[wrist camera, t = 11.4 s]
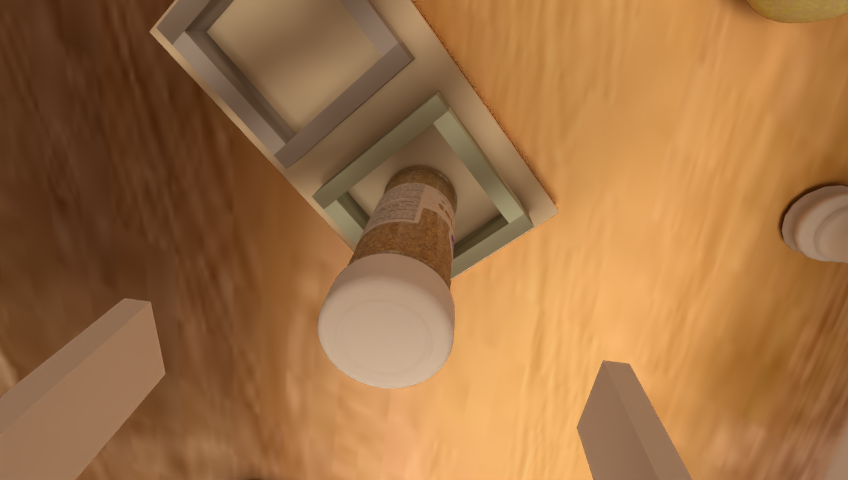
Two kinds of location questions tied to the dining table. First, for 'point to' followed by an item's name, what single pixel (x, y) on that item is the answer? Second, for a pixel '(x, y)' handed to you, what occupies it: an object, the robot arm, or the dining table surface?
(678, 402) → the dining table surface
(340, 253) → the dining table surface
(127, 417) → the robot arm
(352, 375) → the sprinkles bottle
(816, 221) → the rook chess piece
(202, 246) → the dining table surface
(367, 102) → the board
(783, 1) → the fruit
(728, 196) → the dining table surface
